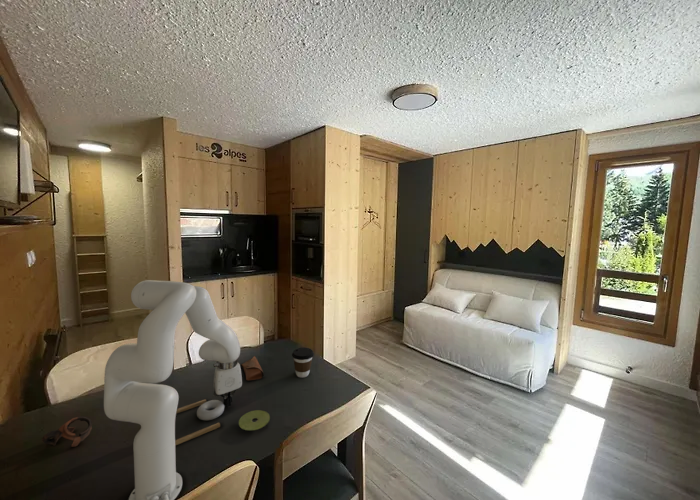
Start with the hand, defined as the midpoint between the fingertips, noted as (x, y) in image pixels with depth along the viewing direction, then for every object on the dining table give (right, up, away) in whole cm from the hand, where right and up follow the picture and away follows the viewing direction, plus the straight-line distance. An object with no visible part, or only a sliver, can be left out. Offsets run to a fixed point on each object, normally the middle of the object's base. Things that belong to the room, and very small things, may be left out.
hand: (227, 404), depth 119 cm
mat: (+14, -3, -9) cm, 17 cm away
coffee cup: (+26, 0, +28) cm, 38 cm away
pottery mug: (-45, -2, -21) cm, 50 cm away
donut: (-5, -1, -4) cm, 7 cm away
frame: (-10, -2, -9) cm, 14 cm away
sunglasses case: (0, +2, +29) cm, 29 cm away
